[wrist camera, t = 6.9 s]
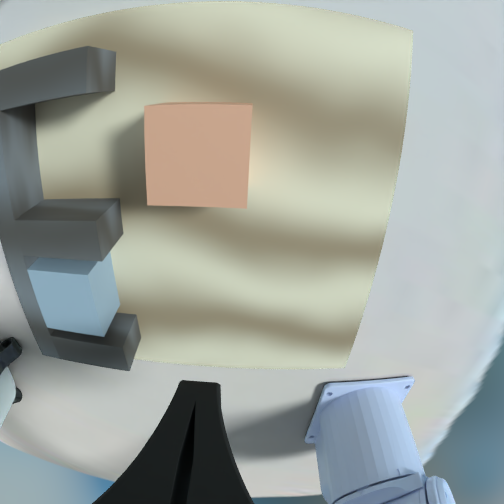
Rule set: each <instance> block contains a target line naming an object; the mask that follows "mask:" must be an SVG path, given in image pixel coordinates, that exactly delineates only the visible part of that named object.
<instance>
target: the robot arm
mask: <svg viewBox="0 0 504 504" xmlns="http://www.w3.org/2000/svg"><path fill="white" fill-rule="evenodd" d="M414 382H415V380H414V378H413V377H402V378H392V379H382V380H371V381H357V382H340V383H328V384H326V385H325V386H324V388H323V391H322V394H321V396H320V399H319V402H318V405H317V407H316V410H315V413H314V416H313V418H312V421H311V423H310V426H309V429H308V431H307V434H306V436H305V443H307V444H311V443H315V448H316V455H317V462H318V470H319V478H320V485H321V491H322V495H323V497H324V499H325V500H326V501H327V502H328V504H456V503H455V501H454V498H453V495H452V493H451V490H450V488H449V486H448V484H447V482H446V481H445V480H444V479H442V478H438V477H437V476H432V477H430V478H428V477H427V476H425V473H424V469H423V466H422V463H421V460H420V457H419V453H418V450H417V447H416V444H415V441H414V438H413V435H412V432H411V430H410V427H409V424H408V421H407V418H406V415H405V413H404V410H403V407H402V404H401V403H402V402H403V400H404V399H405V397H406V395H407V394H408V392H409V390H410V389H411V387H412V385H413V384H414ZM92 504H254V503H253V501H252V499H251V497H250V495H249V493H248V491H247V489H246V486H245V484H244V482H243V480H242V477H241V475H240V473H239V470H238V468H237V465H236V462H235V460H234V457H233V454H232V451H231V448H230V445H229V441H228V438H227V434H226V430H225V426H224V422H223V417H222V410H221V389H220V384H218V383H213V382H199V381H186V380H182V381H180V383H179V385H178V388H177V390H176V392H175V395H174V397H173V399H172V401H171V403H170V405H169V407H168V409H167V410H166V412H165V414H164V416H163V418H162V419H161V421H160V423H159V424H158V426H157V428H156V429H155V431H154V433H153V434H152V436H151V437H150V439H149V440H148V442H147V443H146V444H145V446H144V447H143V449H142V450H141V452H140V453H139V454H138V456H137V457H136V458H135V460H134V461H133V462H132V463H131V464H130V466H129V467H128V468H127V469H126V470H125V472H124V473H123V474H122V475H121V476H120V477H119V478H118V479H117V480H116V482H115V483H114V484H113V485H112V486H111V487H110V488H109V489H108V490H107V491H106V492H104V493H103V494H102V495H101V496H100V497H99V498H98V499H97V500H96V501H95V502H93V503H92Z"/></svg>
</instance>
